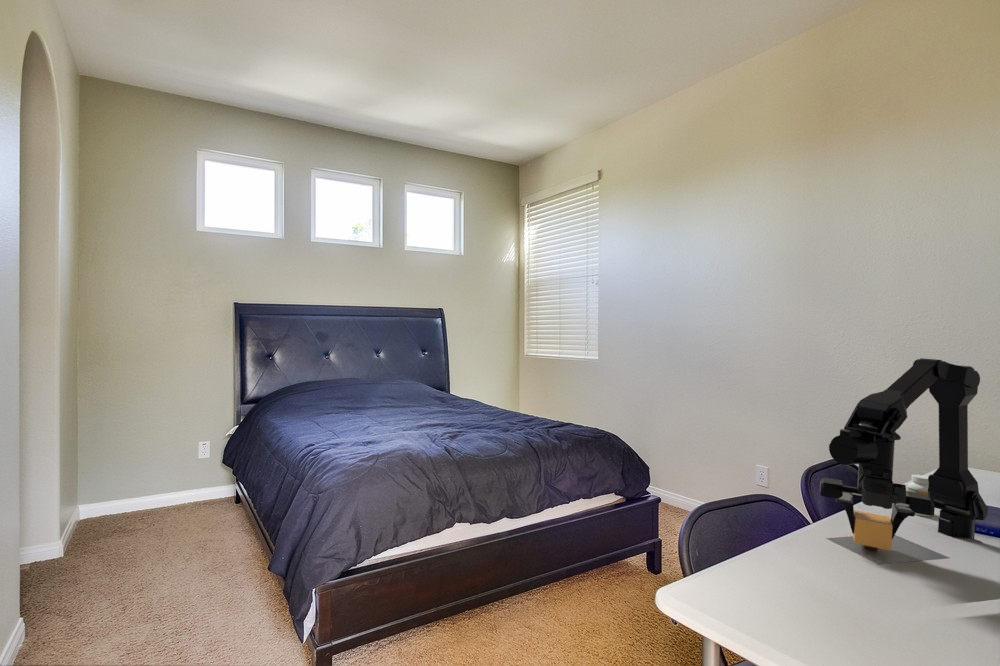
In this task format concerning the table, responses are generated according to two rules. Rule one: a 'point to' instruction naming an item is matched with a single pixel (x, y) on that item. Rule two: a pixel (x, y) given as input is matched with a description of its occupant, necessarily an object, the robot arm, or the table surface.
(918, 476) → the supplement bottle
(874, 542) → the cardboard cube
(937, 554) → the plate
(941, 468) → the robot arm
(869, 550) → the copper post
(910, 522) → the table surface
